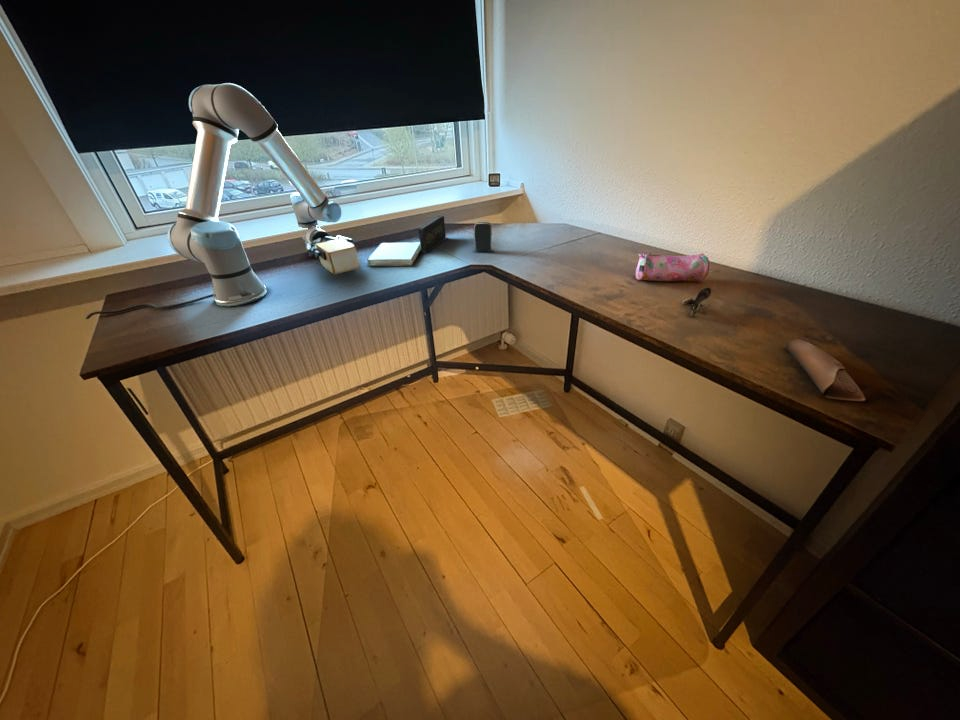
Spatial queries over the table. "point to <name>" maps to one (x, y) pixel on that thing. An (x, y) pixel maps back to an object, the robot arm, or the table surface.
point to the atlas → (394, 254)
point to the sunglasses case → (825, 372)
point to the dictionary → (339, 256)
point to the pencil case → (672, 267)
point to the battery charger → (483, 236)
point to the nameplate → (432, 233)
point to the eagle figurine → (698, 301)
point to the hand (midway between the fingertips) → (339, 252)
